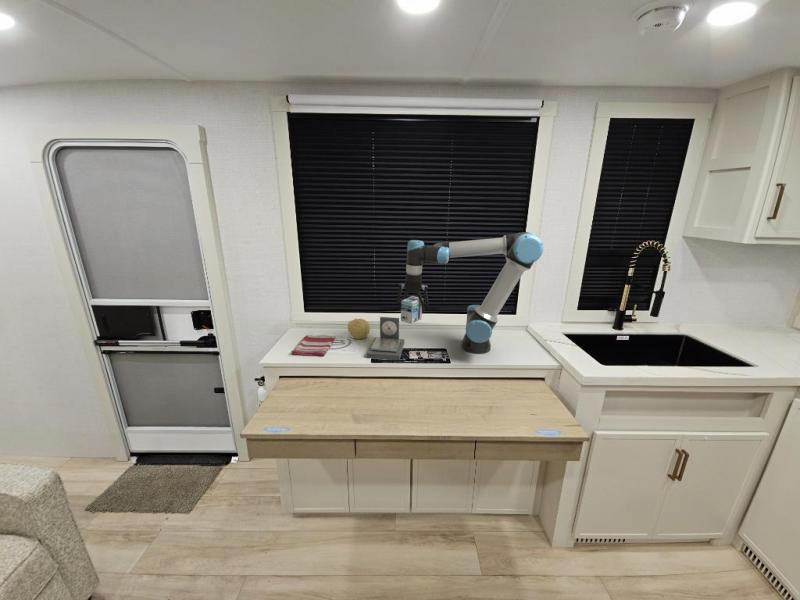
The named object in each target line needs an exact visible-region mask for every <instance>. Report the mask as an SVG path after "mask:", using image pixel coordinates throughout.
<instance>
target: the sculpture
mask: <svg viewBox="0 0 800 600" xmlns="http://www.w3.org/2000/svg"><path fill="white" fill-rule="evenodd" d="M347 331H348V333H349V334H350V336H351V337H352V338H353V339H355V340H362V339H365V338H367V337H368V336H369V335H370V331H371V325H370V324H369V322H368V321H367V320H365V319H363V318H355V319H352V320H349V322H348V324H347Z"/></svg>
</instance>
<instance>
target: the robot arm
mask: <svg viewBox="0 0 800 600" xmlns="http://www.w3.org/2000/svg"><path fill="white" fill-rule="evenodd" d="M543 252H544V244H543V241H542V240H541V238H540V237H539V236H537V235H535V234H533V233H532V232H528V231H524V232H523V231H521V232H518V233H512V234H504V235H503V236H502V237H495V238H484V239H472V240H461V241H451V242H437V243H435V244H433V245H425V242H424V241H423V240H418V239H411V240H409V241H407V250H406V266H405V267H406V269H405V270H406V271H405V272H406V274H405V282H404V283H399V285H398V293H397V297H396V300H395V304H396V305H397V304H398V305H399V309H398V311H399V312H401V305H402V300H404V299H406V298H407V296H408V295H409V293H410V294H411V293H413V294H416V295H417V297H418V298H419V300H420V303H421V305H422V306H421V307H420V320H419V321H421V320H422V319H423V318H422V317H423V314H424V313H425V307H428V306H429V299H428V297H429V296H428V291H427V290H428V285H424V284H422V280H423V279H422V276H423V275H422V273H423V263H434V264H448V262H449V259H450V258H463V257H476V256H477V257H478V256H490V255H502V254H503V255H504V256H505V260H506V263H505V264H504V266H503V267H502V269H501V270H500V272H499V274H498V276H497V278H496V279H495V281H494V283H493V284H492V285H491V288H490V290H488V291H489V292H488V293H487V295H486V296H485V298H484V300H482V303H481V305H480V304H471V305H468V306H467V310H466V322H465V334H464V335H463V338H462V340H461V344H460V346H461V349H462V350H464V351H466V352H468V353H472V354H477V355H478V354H487V353H489V352H490V351H491V347H492V345H491V340H490V338H491V337H492V334H493V329H494V328H495V326H496V324H497V323H498V321H499V319H498V315H499V313H500V312H501V310H502V308H503V307H504V305H505V304H506V301H508V299H509V297H510V295H511V293H512V292H513V291H514V289H515V287H516V285H518V282H519V281H520V279H521V277H522V276H523V274H524V273H525V271H528V270H530V269H531V268H532V267H533V265H534V263H535V262H537V261H538V260H539V259H540V258H541V256H542V255H543ZM404 288H406V291H405V293H404V295H403V297H402V298H401V295H402V293H403V292H402V291H403V289H404ZM421 289H422V290H423V293H424V295H423V296H424V298H423V297H422V294H421V291H420V290H421ZM422 298H423V299H422ZM424 301H425V302H424ZM421 318H422V319H421Z"/></svg>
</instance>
